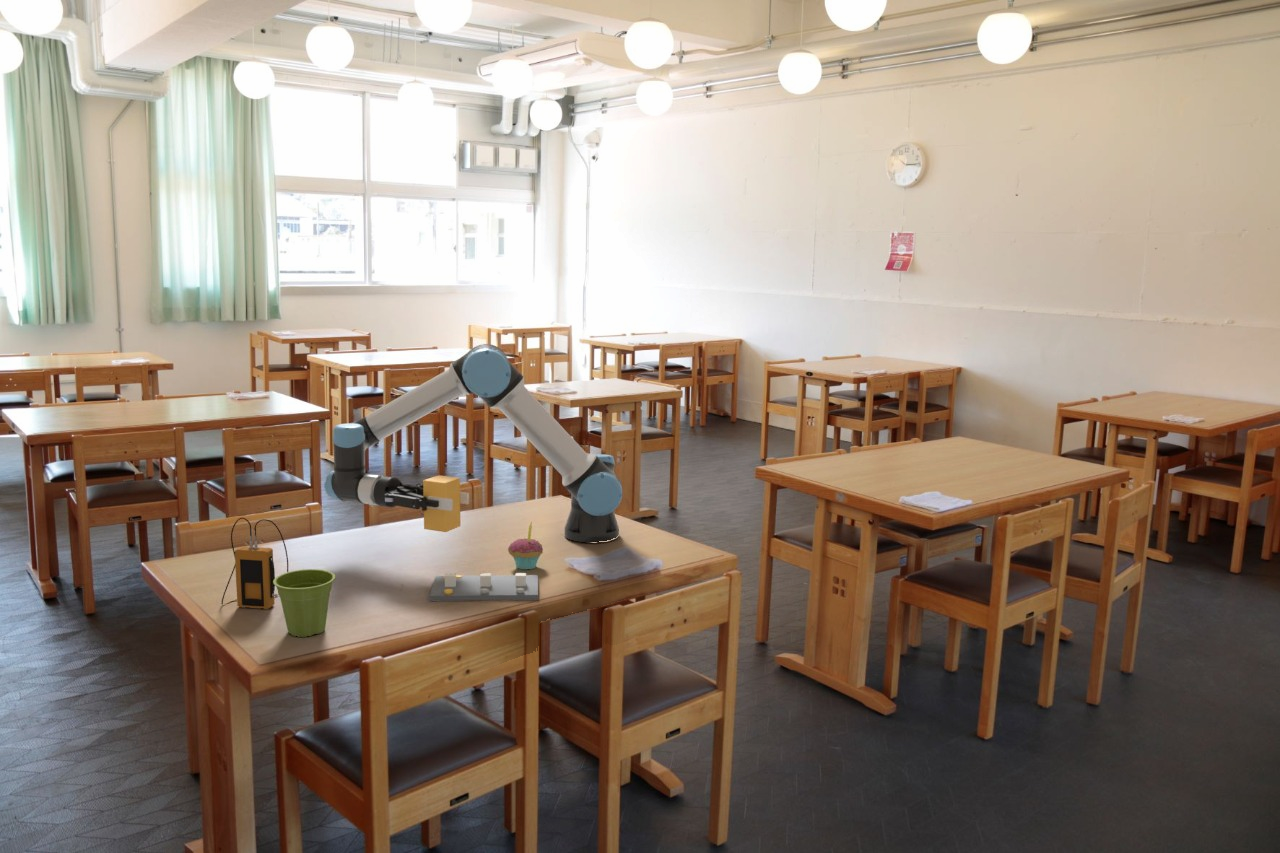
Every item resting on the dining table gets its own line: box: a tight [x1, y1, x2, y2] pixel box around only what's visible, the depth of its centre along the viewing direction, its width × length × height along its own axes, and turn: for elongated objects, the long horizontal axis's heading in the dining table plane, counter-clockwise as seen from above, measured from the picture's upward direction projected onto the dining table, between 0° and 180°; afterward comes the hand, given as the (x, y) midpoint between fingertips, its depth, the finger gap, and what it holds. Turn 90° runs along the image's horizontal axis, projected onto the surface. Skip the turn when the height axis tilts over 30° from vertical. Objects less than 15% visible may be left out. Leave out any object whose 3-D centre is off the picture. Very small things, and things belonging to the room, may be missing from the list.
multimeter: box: [220, 517, 289, 610], centre depth 216 cm, size 15×10×20 cm
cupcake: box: [507, 521, 544, 570], centre depth 245 cm, size 9×8×12 cm
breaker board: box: [429, 572, 539, 602], centre depth 229 cm, size 24×14×4 cm, turn 96°
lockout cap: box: [422, 474, 462, 533], centre depth 238 cm, size 6×6×12 cm
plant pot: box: [273, 568, 336, 638], centre depth 201 cm, size 12×12×11 cm
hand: (459, 501), depth 236 cm, fingers closed on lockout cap, 6 cm apart
